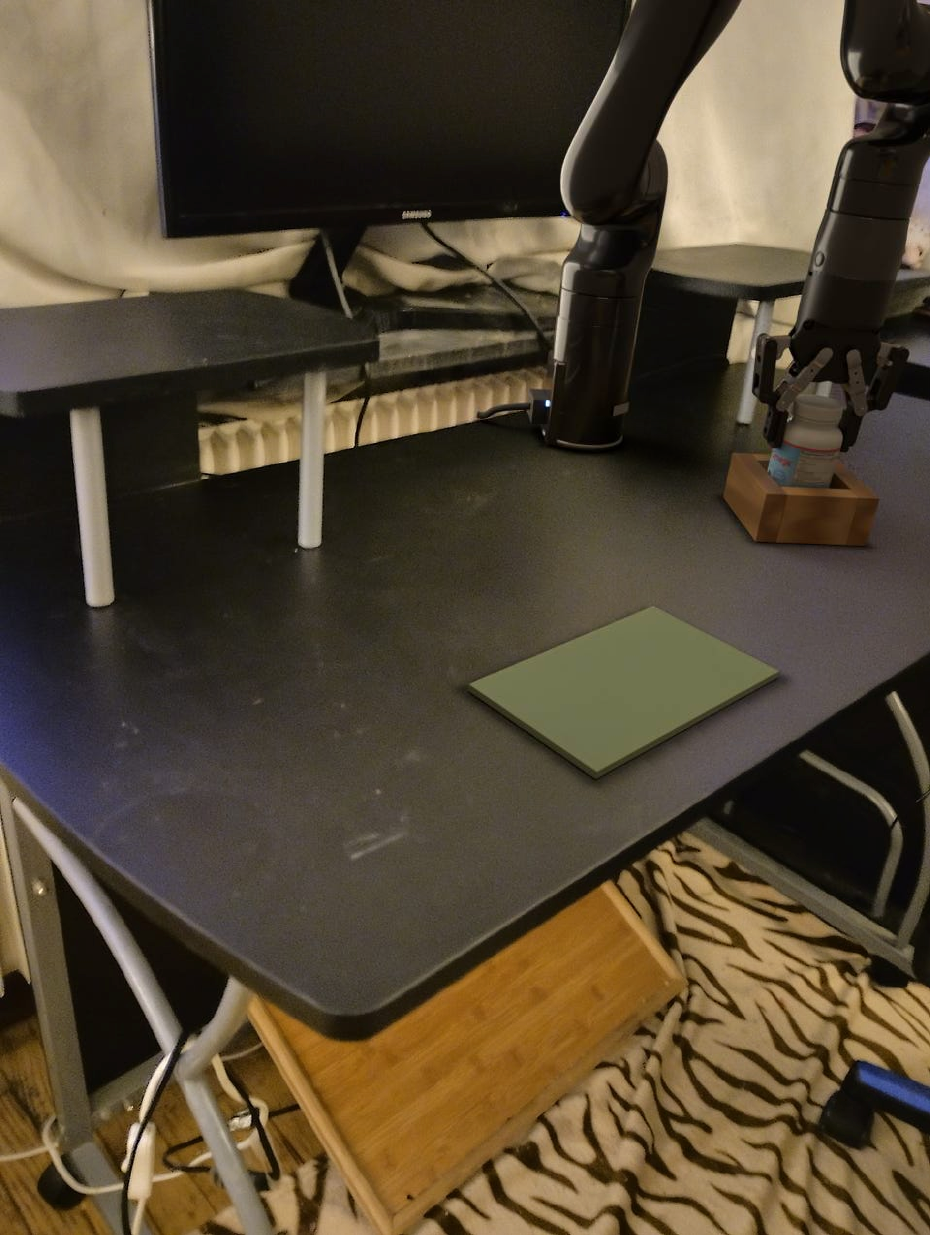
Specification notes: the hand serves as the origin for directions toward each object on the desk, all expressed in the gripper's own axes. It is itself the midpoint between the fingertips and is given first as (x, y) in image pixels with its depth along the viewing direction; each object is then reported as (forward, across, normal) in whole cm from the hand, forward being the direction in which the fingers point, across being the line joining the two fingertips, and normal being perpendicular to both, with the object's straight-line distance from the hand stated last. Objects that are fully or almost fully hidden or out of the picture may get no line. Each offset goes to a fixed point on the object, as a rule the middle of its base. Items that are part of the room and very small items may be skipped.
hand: (806, 447), depth 95 cm
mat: (+8, +22, +31) cm, 39 cm away
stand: (+8, 0, 0) cm, 8 cm away
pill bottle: (+7, 0, 0) cm, 7 cm away
